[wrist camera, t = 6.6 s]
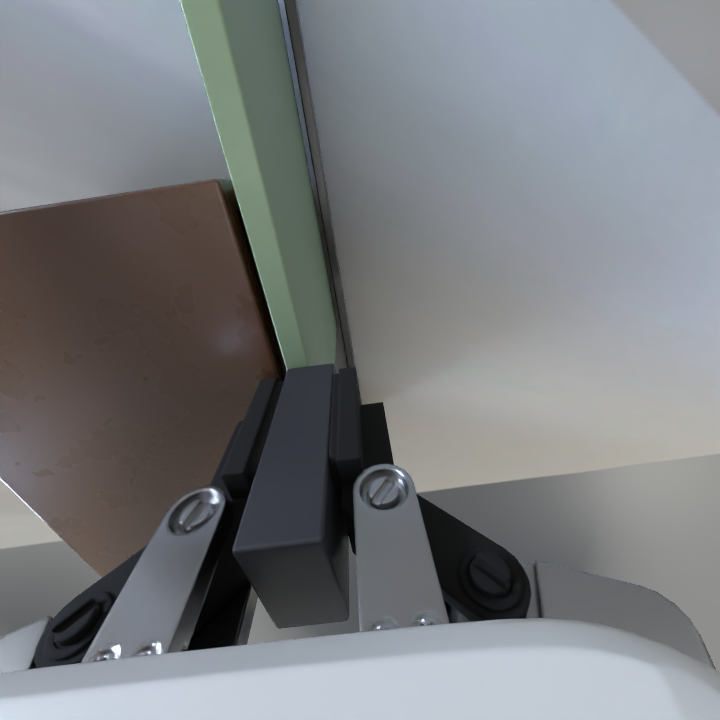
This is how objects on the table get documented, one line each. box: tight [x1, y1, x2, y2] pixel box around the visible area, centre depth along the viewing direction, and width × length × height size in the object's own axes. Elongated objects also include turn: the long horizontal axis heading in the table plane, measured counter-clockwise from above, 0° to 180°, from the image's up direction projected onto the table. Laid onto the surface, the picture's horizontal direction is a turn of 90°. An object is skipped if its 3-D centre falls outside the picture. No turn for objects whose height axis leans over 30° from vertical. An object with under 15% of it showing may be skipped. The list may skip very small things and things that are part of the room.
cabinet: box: [0, 0, 355, 578], centre depth 16 cm, size 14×28×13 cm, turn 7°
